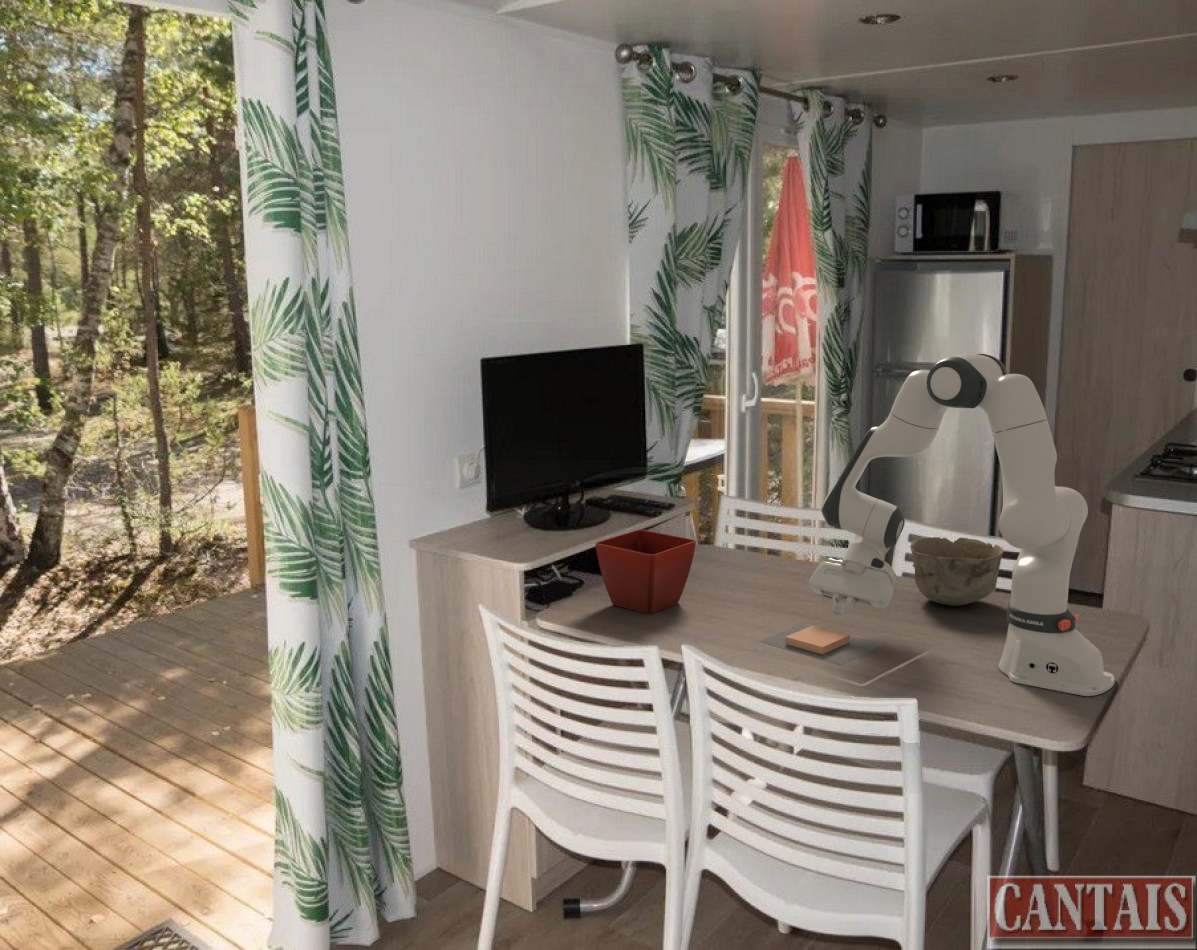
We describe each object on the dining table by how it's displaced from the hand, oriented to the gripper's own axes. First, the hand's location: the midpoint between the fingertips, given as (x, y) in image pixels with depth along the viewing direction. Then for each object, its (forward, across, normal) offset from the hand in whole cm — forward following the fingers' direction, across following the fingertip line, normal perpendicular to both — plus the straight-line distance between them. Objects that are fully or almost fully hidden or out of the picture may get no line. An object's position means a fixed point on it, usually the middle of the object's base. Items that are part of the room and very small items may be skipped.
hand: (837, 614), depth 249 cm
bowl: (-26, +7, +34) cm, 43 cm away
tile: (+5, 0, +2) cm, 5 cm away
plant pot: (+12, -50, -3) cm, 52 cm away
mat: (+9, 0, -1) cm, 9 cm away
